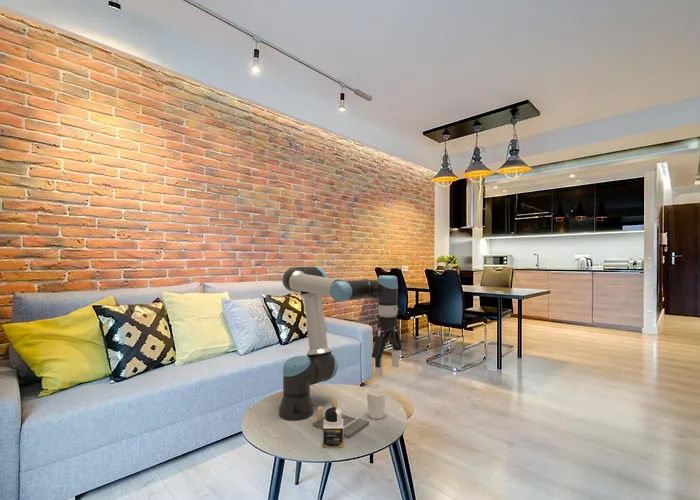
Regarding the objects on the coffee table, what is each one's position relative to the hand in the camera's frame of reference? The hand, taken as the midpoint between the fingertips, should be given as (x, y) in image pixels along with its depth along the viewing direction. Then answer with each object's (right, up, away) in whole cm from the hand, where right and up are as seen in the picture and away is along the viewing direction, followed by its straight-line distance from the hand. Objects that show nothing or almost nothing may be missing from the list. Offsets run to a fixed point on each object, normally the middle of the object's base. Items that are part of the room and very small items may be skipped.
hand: (387, 371), depth 135 cm
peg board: (-18, -25, +7) cm, 31 cm away
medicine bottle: (-20, -24, -6) cm, 32 cm away
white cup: (-3, -25, +16) cm, 30 cm away
